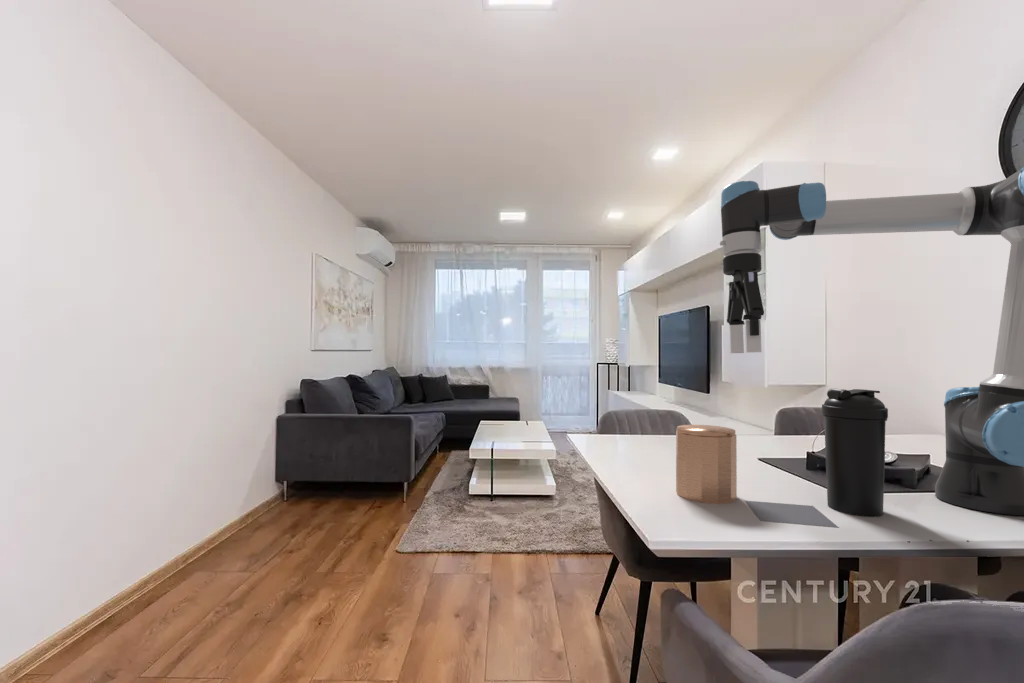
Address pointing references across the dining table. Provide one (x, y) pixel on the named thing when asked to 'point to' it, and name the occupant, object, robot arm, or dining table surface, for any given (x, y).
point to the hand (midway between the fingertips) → (744, 353)
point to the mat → (789, 514)
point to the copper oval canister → (706, 463)
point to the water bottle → (855, 451)
